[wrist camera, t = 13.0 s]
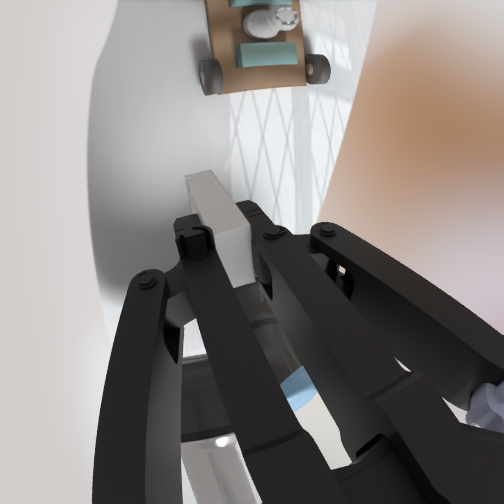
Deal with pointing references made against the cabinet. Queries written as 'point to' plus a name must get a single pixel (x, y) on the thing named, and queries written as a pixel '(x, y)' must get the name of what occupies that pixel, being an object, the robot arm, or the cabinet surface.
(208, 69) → the chassis
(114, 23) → the cabinet surface
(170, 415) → the robot arm
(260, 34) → the rook chess piece
